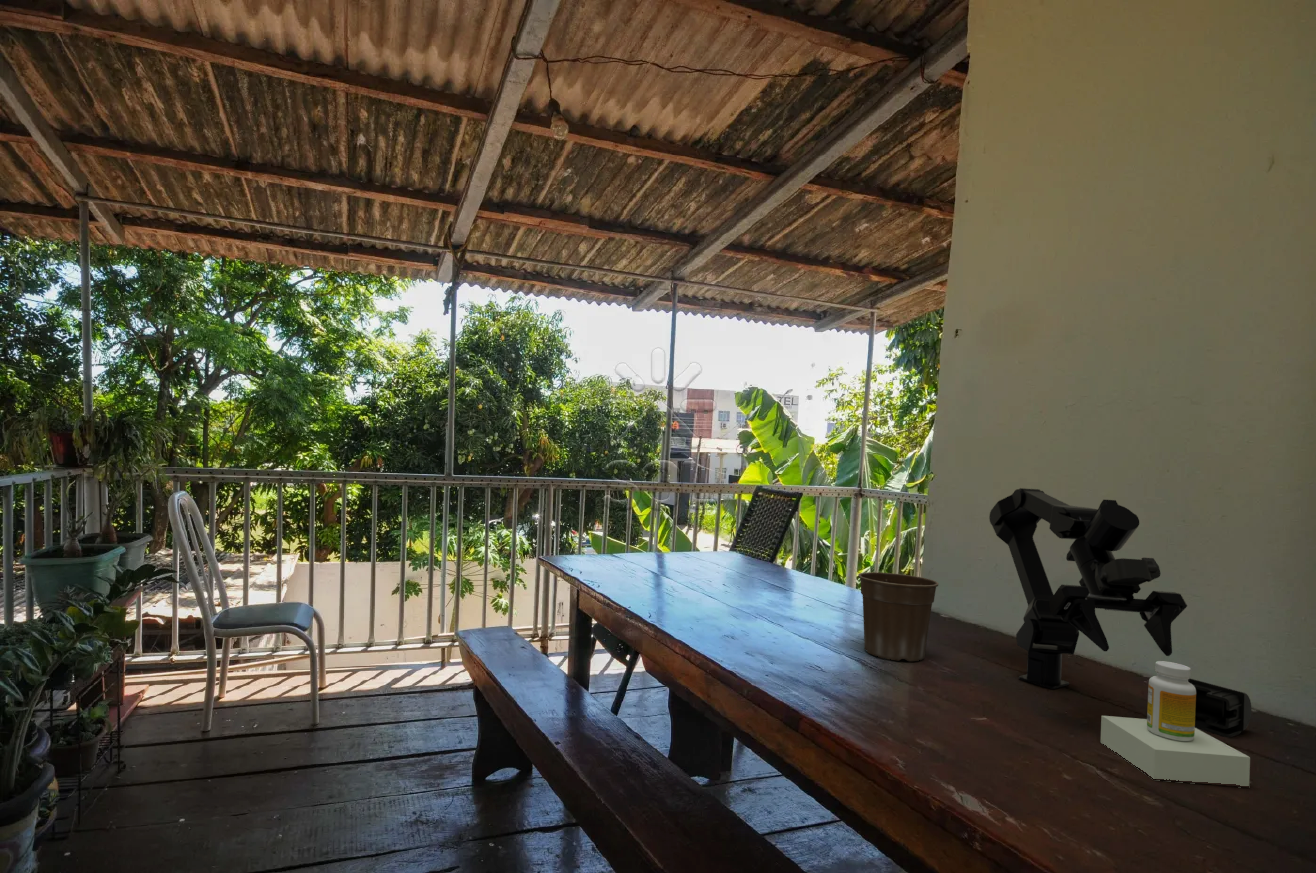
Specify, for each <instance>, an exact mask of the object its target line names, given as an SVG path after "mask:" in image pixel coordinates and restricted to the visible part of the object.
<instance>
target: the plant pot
mask: <svg viewBox="0 0 1316 873" xmlns="http://www.w3.org/2000/svg"><path fill="white" fill-rule="evenodd" d="M857 577H858V579H860V594H861V595H862V611H863V612H862V614H863V644H864V646H863V648H864V651H866V652H867V653H868V654H870V655H873V656H875V657H877V656H878V657H877V658H880V659H884V658H886V659H885V660H890V659H891V660H892V661H897V662H899V661H901V660H906V661H907V662H920V661H922V660H924V659H925V656H926V648H927V642H928V634H929V628H930V619H931V613H932V606H933V603H934V602H935V595H936V590H937V587H939V582H938V581H937V580H934V579H931V578H925V577H921V576H916V575H909V574H900V573H893V572H891V573H890V572H876V571H875V572H872V571H871V572H860V573H858V574H857ZM919 660H920V661H919Z"/></svg>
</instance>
